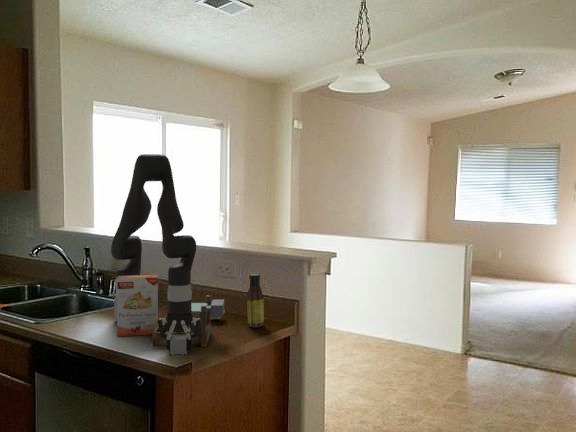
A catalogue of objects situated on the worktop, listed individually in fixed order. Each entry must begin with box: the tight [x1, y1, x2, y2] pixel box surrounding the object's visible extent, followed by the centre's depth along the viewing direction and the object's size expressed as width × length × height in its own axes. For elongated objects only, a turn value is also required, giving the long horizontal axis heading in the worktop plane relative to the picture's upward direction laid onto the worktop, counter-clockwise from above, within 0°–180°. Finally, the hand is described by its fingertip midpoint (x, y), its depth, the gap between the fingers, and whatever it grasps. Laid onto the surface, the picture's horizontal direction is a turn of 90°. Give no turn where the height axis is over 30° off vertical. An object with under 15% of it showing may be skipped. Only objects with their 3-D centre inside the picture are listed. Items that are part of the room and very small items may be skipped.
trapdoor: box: [191, 299, 225, 318], centre depth 182 cm, size 18×12×4 cm, turn 93°
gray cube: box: [169, 335, 189, 356], centre depth 168 cm, size 5×5×5 cm
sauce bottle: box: [246, 273, 265, 329], centre depth 200 cm, size 6×6×20 cm
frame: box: [151, 294, 213, 348], centre depth 182 cm, size 18×18×14 cm
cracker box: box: [116, 274, 159, 338], centre depth 188 cm, size 14×6×21 cm, turn 106°
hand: (179, 350), depth 168 cm, fingers closed on gray cube, 5 cm apart
